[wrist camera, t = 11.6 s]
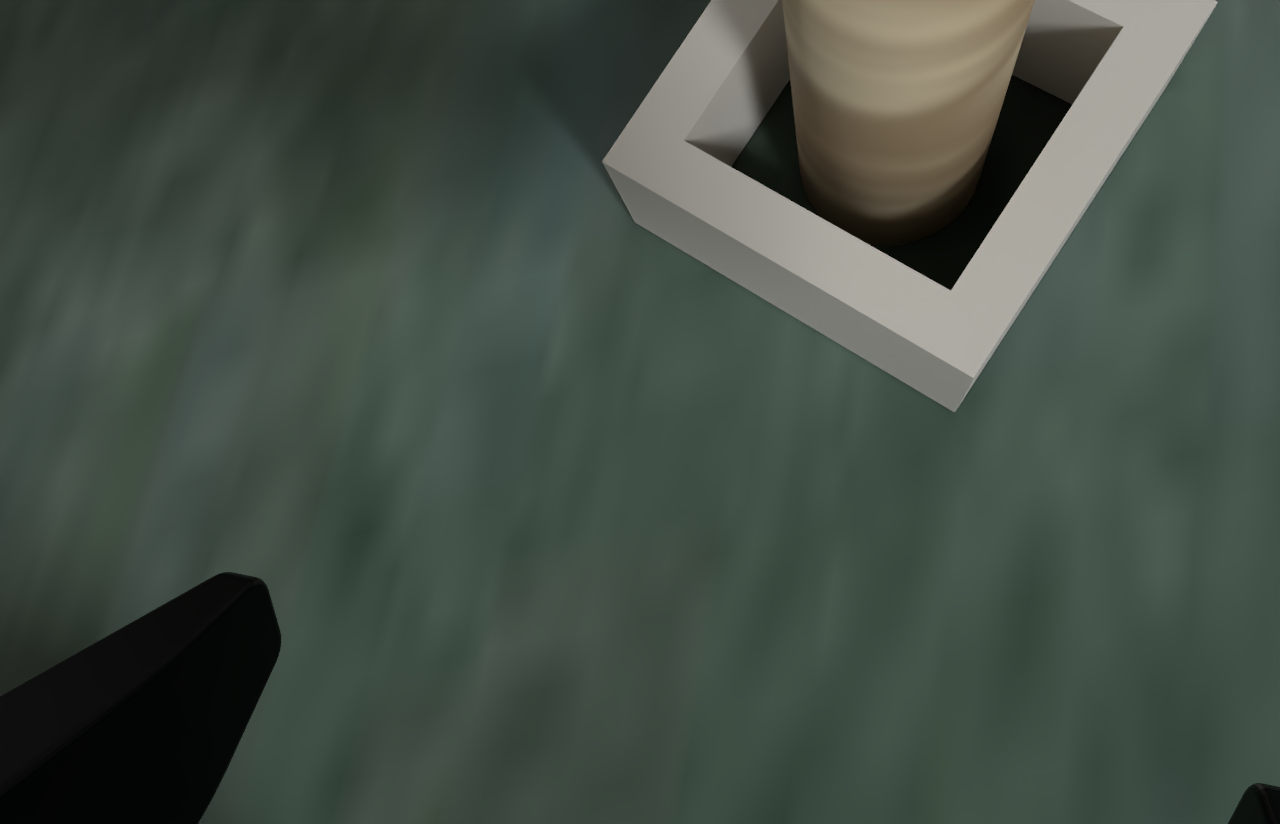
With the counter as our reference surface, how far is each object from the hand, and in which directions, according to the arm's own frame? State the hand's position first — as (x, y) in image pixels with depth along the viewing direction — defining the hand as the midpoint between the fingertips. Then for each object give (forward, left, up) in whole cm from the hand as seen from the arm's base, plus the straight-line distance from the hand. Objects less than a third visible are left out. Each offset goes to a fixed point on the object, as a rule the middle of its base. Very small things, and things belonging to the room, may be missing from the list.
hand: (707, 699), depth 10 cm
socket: (+10, +4, -13) cm, 17 cm away
